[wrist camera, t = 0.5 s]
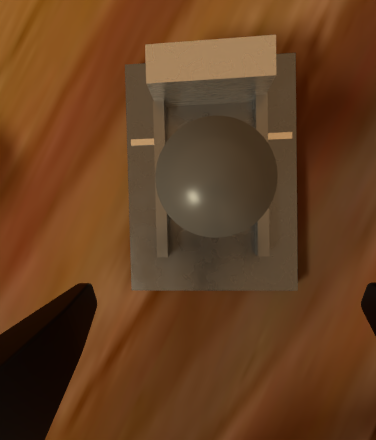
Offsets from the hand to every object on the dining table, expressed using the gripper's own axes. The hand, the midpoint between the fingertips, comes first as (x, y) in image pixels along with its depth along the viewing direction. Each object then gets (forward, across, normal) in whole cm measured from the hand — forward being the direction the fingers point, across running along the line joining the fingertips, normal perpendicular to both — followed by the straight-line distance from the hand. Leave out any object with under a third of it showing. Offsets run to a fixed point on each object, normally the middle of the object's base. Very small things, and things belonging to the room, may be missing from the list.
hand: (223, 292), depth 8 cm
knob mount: (+17, 0, +1) cm, 17 cm away
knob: (+15, 0, +1) cm, 15 cm away
